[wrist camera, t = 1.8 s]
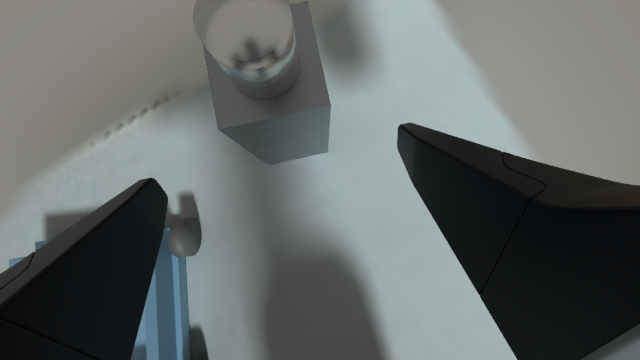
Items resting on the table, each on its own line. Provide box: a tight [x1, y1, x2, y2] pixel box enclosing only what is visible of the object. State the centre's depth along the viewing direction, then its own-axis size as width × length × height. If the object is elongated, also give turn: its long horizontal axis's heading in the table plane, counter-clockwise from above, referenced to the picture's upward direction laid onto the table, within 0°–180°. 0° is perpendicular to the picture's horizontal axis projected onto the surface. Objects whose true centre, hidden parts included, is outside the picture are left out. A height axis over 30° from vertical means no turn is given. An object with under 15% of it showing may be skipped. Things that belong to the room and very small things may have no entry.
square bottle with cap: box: [193, 0, 331, 165], centre depth 15 cm, size 5×5×13 cm
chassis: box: [9, 218, 201, 360], centre depth 19 cm, size 13×12×3 cm
